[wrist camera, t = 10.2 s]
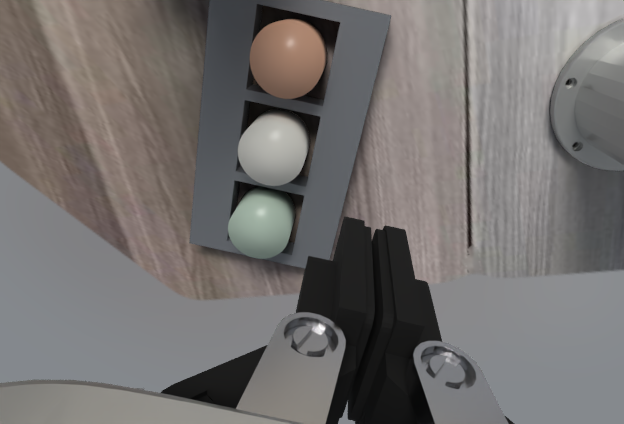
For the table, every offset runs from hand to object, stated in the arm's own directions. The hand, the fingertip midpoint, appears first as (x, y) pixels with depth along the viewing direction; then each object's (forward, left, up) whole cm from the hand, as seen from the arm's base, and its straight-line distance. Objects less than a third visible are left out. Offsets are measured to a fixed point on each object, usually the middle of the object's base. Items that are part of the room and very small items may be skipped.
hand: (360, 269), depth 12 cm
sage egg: (+6, +14, -28) cm, 32 cm away
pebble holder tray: (+6, +6, -29) cm, 30 cm away
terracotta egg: (+6, -1, -28) cm, 29 cm away
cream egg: (+6, +6, -28) cm, 30 cm away
